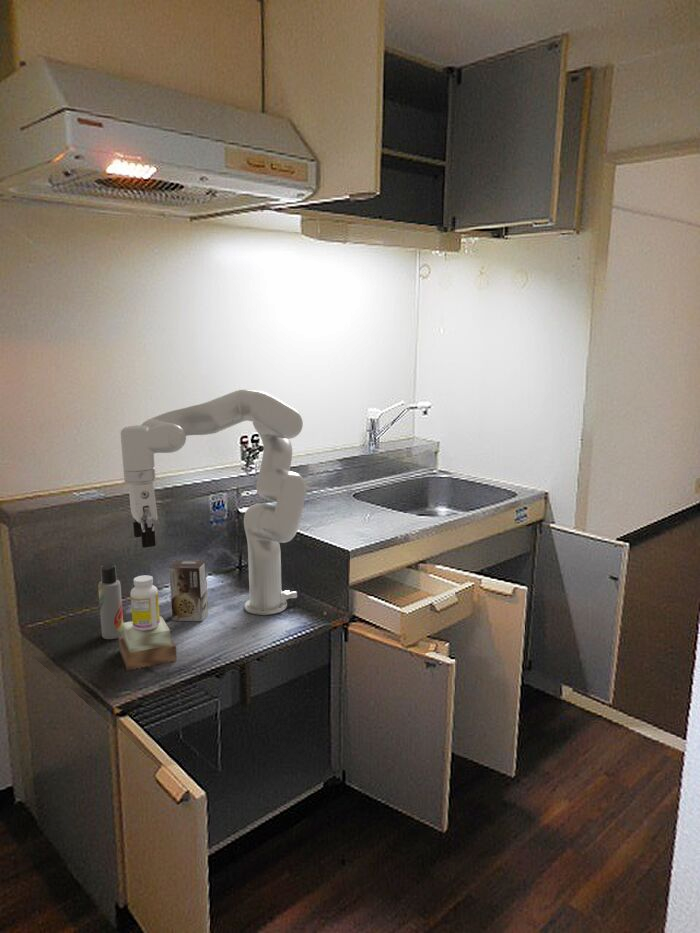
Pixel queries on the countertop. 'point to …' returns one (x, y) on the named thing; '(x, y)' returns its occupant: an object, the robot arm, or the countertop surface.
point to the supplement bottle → (144, 604)
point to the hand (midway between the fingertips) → (144, 541)
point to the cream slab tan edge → (146, 646)
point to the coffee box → (188, 590)
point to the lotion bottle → (110, 603)
